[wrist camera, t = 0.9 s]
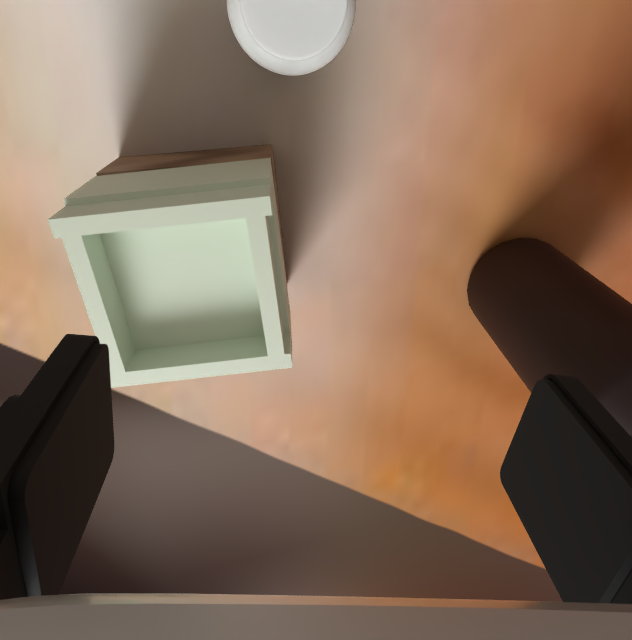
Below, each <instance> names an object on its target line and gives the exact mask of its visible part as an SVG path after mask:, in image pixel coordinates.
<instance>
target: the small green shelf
mask: <svg viewBox="0 0 632 640" xmlns="http://www.w3.org/2000/svg"><path fill="white" fill-rule="evenodd" d="M64 202H65V205H66V206H65V207H64V208H62V209H61V210H60V211H59V212H57V213H56V214H55V215H53V216H52V217H51V218H49V219H48V222H49V225H50V228H51V231H52V233H53V236H54V239H55V238H62V240H63V243H64V246H65V249H66V252H67V255H68V258H69V261H70V264H71V266H72V269H73V272H74V275H75V278H76V281H77V284H78V287H79V290H80V293H81V295H82V298H83V301H84V304H85V307H86V310H87V313H88V316H89V319H90V322H91V325H92V327H93V330H94V333H95V336H97V337H98V339H99V342H100V344H107V345H108V348H109V362H110V379H111V388H114V387H123V386H132V385H141V384H150V383H159V382H168V381H177V380H186V379H195V378H204V377H212V376H221V375H230V374H239V373H248V372H257V371H266V370H275V369H284V368H293V366H292V338H291V318H290V306H289V298H288V290H287V283H286V275H285V267H284V259H283V251H282V243H281V236H280V228H279V220H278V212H277V204H276V196H275V189H274V181H273V173H272V165H271V158H263V159H253V160H244V161H234V162H225V163H215V164H206V165H196V166H186V167H177V168H167V169H158V170H148V171H139V172H129V173H120V174H110V175H101V176H95V177H94V178H92V179H91V180H90V181H88V182H87V183H85V184H84V185H83V186H81V187H80V188H78V189H77V190H76V191H74V192H73V193H72V194H70V195H69V196H67V197H66V198H65V199H64Z"/></svg>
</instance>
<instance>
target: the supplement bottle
mask: <svg viewBox="0 0 632 640" xmlns="http://www.w3.org/2000/svg"><path fill="white" fill-rule="evenodd" d="M226 1H227V12H228V17H229V21H230V24H231V27H232V30H233V32H234V35H235V37H236V39H237V40H238V42H239V44H240V45H241V47H242V48H243V50H244V51H245V52H246V53H247V54H248V55H249V56H250V57H251V58H252V59H253V60H254V61H255V62H256V63H258V64H259V65H260V66H262V67H264V68H266V69H268V70H269V71H272V72H275V73H278V74H282V75H291V76H296V75H304V74H308V73H311V72H314V71H316V70H318V69H320V68H322V67H323V66H325V65H326V64H328V63H329V62H330V61H331V60H332V59H333V58H334V57H335V56H336V55H337V54H338V53H339V52H340V50H341V49H342V47H343V46H344V44H345V42H346V41H347V39H348V36H349V34H350V31H351V29H352V25H353V21H354V16H355V9H356V0H226Z"/></svg>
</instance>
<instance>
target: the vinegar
mask: <svg viewBox="0 0 632 640" xmlns="http://www.w3.org/2000/svg"><path fill="white" fill-rule="evenodd" d="M467 293H468V300H469V306H470V307H471V309H472V311H473V313H474V314H475V316H476V318H477V319H478V320H479V322H480V323H481V324H482V326H483V327H484V329H485V330H486V331H487V333H488V334H489V335H490V337H491V338H492V340H493V341H494V342H495V344H496V345H497V346H498V348H499V349H500V351H501V352H502V353H503V355H504V356H505V357H506V359H507V360H508V361H509V363H510V364H511V366H512V367H513V368H514V370H515V371H516V372H517V374H518V375H519V377H520V378H521V379H522V381H523V382H524V383H525V385H526V386H527V388H528V389H529V390H530V392H531V393H532V390H533V388H534V386H535V384H536V382H537V381H538V380H541V379H543V377H545V376H546V375H547V374H558V375H571V376H575V377H577V378H578V379H579V380H580V381H581V382H582V383H583V385H584V386H585V387H586V388H587V389H588V390H589V391H590V392H591V393H592V394H593V395H594V397H595V398H596V399H597V400H598V401H599V402H600V403H601V404H602V405H603V406H604V408H605V409H606V410H607V411H608V412H609V413H610V414H611V415H612V416H613V417H614V418H615V420H616V421H617V422H618V423H619V424H620V425H621V426H622V427H623V428H624V429H625V431H626V432H627V433H628V434H629V435H630V436H631V437H632V304H631V303H630V302H628V301H627V300H625V299H624V298H623V297H621V296H620V295H619V294H617V293H616V292H615V291H613V290H612V289H610V288H609V287H608V286H606V285H605V284H604V283H602V282H601V281H599V280H598V279H597V278H595V277H594V276H593V275H591V274H590V273H588V272H587V271H586V270H584V269H583V268H582V267H580V266H579V265H578V264H576V263H575V262H573V261H572V260H571V259H569V258H568V257H567V256H565V255H564V254H562V253H561V252H560V251H558V250H557V249H556V248H554V247H553V246H551V245H550V244H548V243H545V242H543V241H540V240H537V239H525V238H519V239H515V240H511V241H507V242H504V243H502V244H500V245H498V246H497V247H495V248H493V249H492V250H490V251H489V252H488V253H487V254H486V255H485V256H484V257H483V258H482V259H481V260H480V261H479V262H478V263H477V265H476V266H475V268H474V270H473V272H472V274H471V275H470V279H469V284H468V288H467Z"/></svg>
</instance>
